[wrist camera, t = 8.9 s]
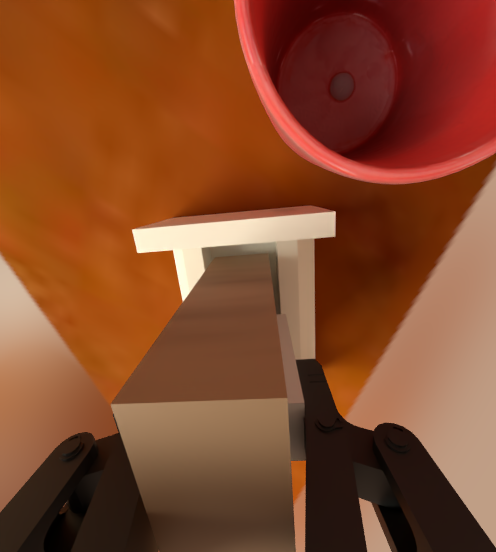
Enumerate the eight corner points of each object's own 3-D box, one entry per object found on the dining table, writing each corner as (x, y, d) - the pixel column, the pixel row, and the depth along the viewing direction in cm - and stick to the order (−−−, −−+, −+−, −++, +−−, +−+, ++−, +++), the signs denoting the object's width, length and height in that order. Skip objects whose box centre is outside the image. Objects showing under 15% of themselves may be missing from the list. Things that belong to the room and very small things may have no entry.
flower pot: (467, 53, 14) (830, -191, 5) (346, 217, 18) (439, 245, 8) (318, -74, 13) (455, -704, 4) (216, 130, 16) (159, 49, 7)
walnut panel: (276, 368, 19) (301, 635, 8) (229, 370, 19) (184, 632, 8) (268, 252, 16) (290, 397, 5) (213, 257, 16) (108, 404, 5)
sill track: (172, 217, 18) (132, 229, 13) (311, 205, 17) (335, 211, 12) (200, 375, 23) (181, 437, 17) (313, 370, 22) (331, 433, 16)
